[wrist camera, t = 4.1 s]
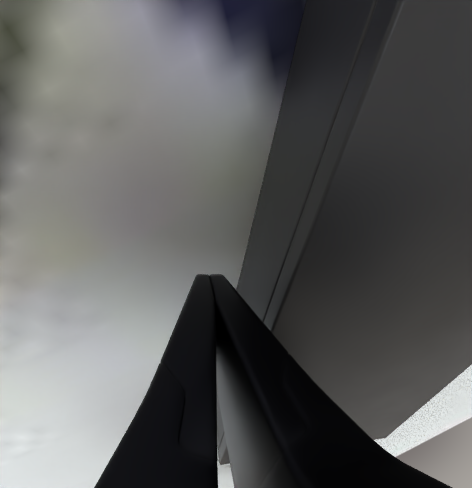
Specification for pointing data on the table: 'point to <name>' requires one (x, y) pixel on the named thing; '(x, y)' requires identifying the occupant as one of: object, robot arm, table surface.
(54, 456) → the table surface
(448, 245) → the lid
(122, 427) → the table surface
